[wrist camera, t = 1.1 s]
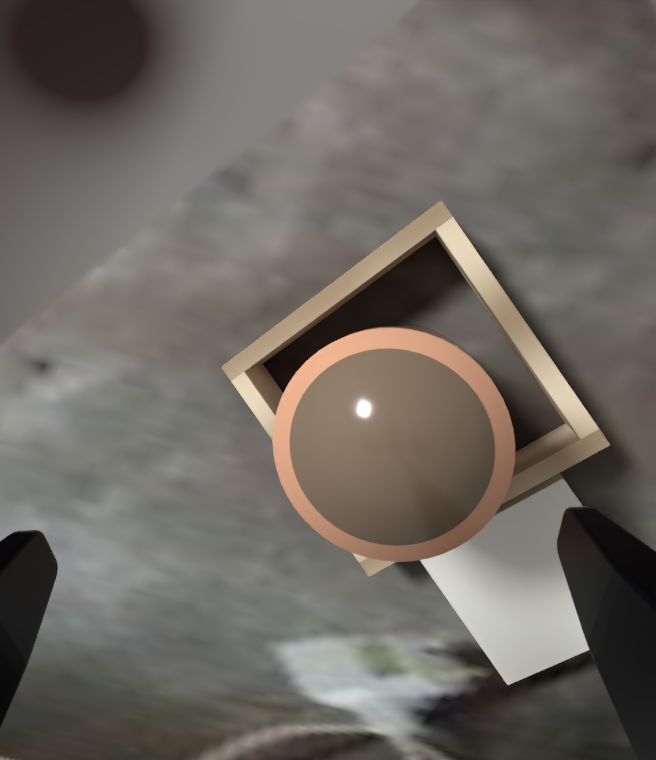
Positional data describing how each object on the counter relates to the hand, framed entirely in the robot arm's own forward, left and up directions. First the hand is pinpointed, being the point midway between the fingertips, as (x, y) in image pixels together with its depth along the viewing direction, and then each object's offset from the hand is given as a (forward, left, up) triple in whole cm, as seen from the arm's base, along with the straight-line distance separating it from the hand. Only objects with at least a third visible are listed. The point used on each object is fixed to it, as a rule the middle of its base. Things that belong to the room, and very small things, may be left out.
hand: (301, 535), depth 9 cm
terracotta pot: (-1, -1, -13) cm, 13 cm away
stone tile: (-10, -1, -13) cm, 16 cm away
